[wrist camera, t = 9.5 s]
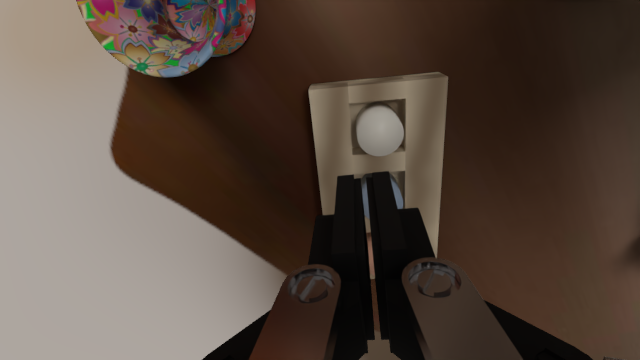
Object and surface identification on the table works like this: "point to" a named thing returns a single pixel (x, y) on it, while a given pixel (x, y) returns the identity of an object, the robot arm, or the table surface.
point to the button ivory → (378, 129)
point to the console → (406, 161)
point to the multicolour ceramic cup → (168, 31)
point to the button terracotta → (370, 253)
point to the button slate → (395, 188)
